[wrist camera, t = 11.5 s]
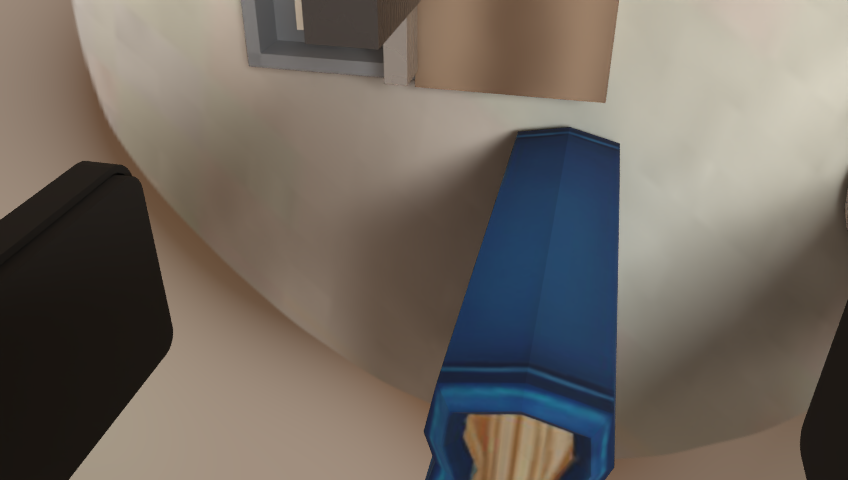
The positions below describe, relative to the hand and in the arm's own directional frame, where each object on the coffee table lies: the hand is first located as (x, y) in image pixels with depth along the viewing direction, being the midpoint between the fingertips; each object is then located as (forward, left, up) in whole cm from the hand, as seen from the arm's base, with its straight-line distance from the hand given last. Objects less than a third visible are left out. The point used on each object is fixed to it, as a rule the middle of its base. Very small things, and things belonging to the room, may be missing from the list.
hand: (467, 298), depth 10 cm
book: (0, +22, -34) cm, 41 cm away
